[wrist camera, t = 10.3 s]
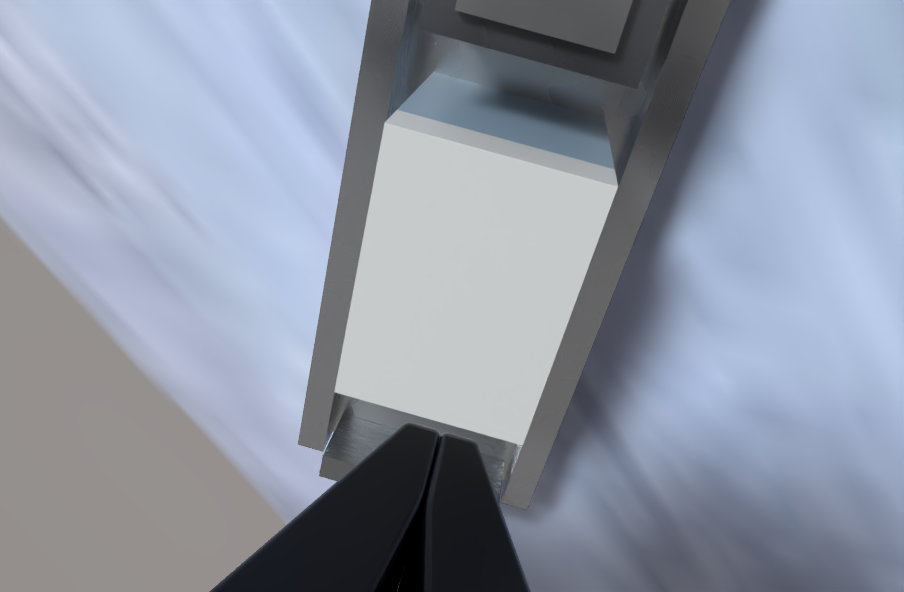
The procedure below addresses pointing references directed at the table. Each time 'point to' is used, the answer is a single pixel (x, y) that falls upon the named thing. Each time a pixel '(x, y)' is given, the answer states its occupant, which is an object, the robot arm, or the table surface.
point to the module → (474, 254)
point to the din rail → (540, 78)
